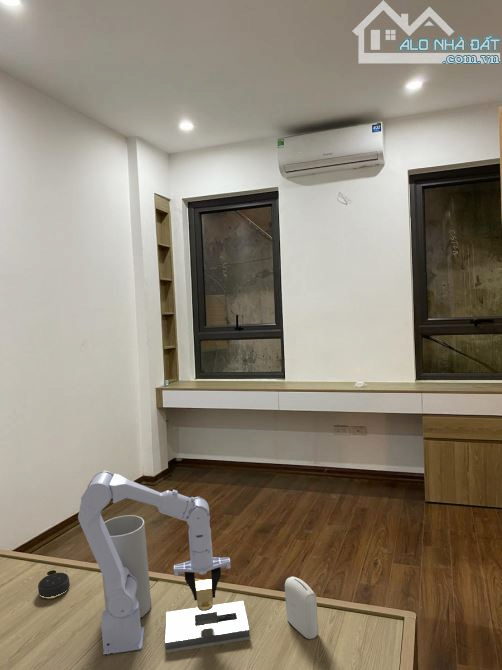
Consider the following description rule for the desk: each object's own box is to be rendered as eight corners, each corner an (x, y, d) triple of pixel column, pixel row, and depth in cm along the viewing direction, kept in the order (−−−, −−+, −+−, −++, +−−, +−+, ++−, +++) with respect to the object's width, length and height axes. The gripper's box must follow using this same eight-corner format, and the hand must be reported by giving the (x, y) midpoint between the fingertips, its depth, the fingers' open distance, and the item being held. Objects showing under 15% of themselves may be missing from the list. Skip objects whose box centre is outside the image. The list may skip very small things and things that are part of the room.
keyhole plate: (165, 653, 121) (165, 642, 121) (167, 621, 133) (166, 612, 133) (249, 639, 124) (249, 629, 124) (244, 609, 136) (243, 600, 135)
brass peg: (198, 612, 126) (196, 590, 125) (197, 602, 129) (195, 581, 129) (213, 609, 126) (211, 588, 126) (212, 600, 130) (211, 579, 130)
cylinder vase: (97, 622, 134) (89, 535, 132) (120, 595, 146) (112, 514, 144) (139, 627, 131) (131, 537, 129) (158, 598, 143) (151, 516, 141)
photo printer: (284, 619, 130) (281, 575, 129) (297, 613, 133) (295, 570, 132) (307, 642, 122) (304, 595, 121) (321, 635, 124) (318, 588, 123)
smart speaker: (40, 587, 153) (39, 575, 153) (70, 580, 156) (69, 568, 156) (37, 603, 145) (36, 591, 145) (69, 596, 148) (68, 584, 147)
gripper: (172, 558, 122) (176, 610, 123) (230, 550, 123) (233, 602, 125) (172, 544, 128) (176, 593, 130) (227, 537, 130) (231, 586, 132)
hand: (204, 596), depth 128 cm, fingers closed on brass peg, 4 cm apart
